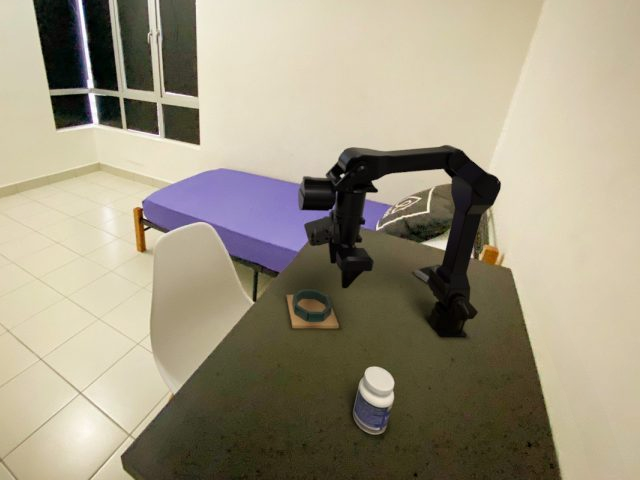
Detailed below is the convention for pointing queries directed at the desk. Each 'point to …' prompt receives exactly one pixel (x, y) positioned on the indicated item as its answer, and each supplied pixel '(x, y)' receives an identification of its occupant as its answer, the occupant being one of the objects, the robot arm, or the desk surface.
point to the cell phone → (425, 272)
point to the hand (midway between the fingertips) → (338, 274)
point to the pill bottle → (374, 400)
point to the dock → (311, 310)
